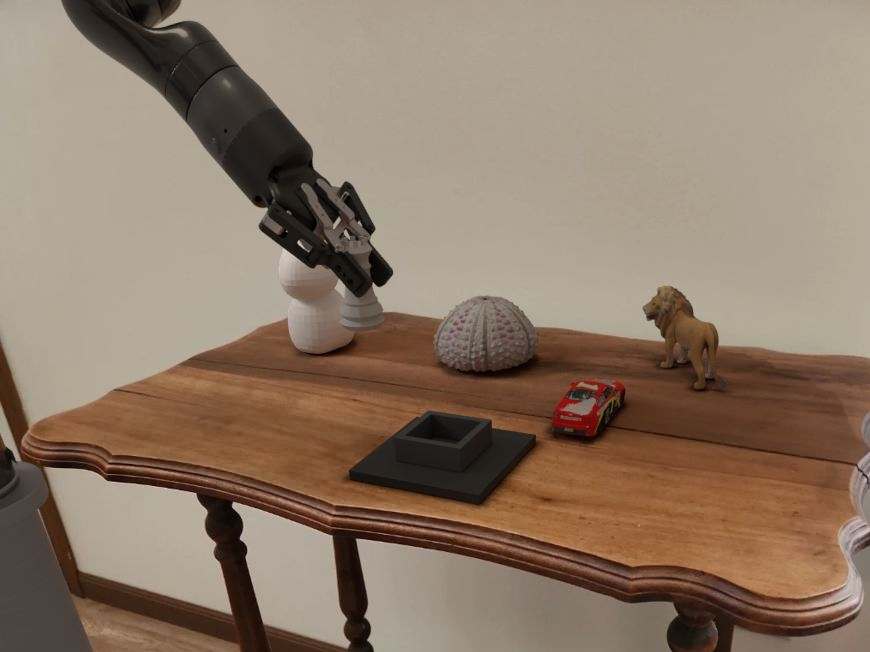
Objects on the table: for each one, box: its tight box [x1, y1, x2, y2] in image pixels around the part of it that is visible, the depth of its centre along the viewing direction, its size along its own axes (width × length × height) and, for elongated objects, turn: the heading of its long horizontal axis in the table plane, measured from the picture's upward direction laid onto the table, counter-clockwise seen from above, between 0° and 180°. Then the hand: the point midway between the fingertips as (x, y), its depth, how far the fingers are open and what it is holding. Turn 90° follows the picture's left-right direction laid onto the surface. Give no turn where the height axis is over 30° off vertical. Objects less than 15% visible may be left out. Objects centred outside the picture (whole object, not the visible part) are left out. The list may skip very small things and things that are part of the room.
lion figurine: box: [641, 285, 728, 390], centre depth 95 cm, size 15×5×9 cm, turn 24°
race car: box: [551, 377, 627, 438], centre depth 87 cm, size 13×5×4 cm, turn 153°
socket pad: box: [348, 409, 537, 505], centre depth 80 cm, size 14×14×4 cm
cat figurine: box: [278, 241, 356, 355], centre depth 109 cm, size 9×12×15 cm
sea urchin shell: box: [432, 295, 540, 373], centre depth 102 cm, size 13×14×8 cm
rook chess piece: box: [340, 236, 386, 332], centre depth 78 cm, size 4×4×8 cm
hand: (376, 285), depth 77 cm, fingers closed on rook chess piece, 3 cm apart
